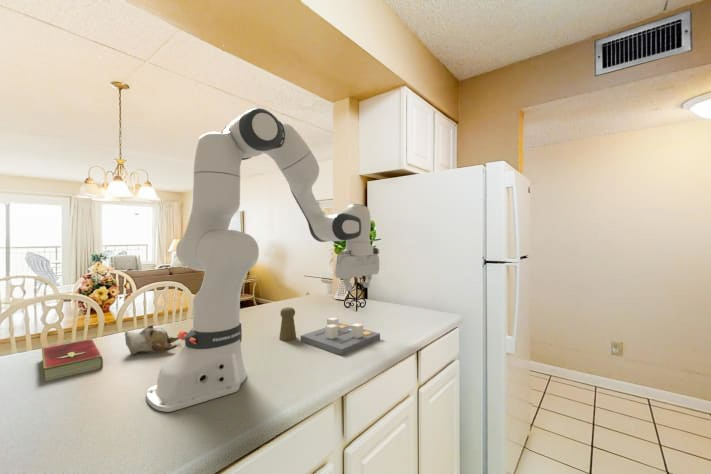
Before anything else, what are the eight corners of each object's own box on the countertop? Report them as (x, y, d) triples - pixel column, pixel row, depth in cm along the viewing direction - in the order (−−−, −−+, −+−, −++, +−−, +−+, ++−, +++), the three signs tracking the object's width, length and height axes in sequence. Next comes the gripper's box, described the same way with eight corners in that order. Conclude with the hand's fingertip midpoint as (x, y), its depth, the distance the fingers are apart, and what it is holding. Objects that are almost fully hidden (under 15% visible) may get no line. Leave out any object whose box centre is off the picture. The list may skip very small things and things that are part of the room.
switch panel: (341, 355, 98) (341, 348, 98) (300, 341, 111) (300, 334, 111) (380, 339, 113) (380, 333, 113) (339, 328, 126) (339, 322, 126)
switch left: (332, 331, 115) (332, 320, 115) (327, 329, 117) (327, 318, 117) (338, 329, 118) (338, 318, 118) (332, 327, 120) (332, 317, 120)
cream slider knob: (357, 338, 107) (357, 326, 107) (351, 336, 109) (351, 325, 109) (363, 336, 110) (363, 324, 110) (356, 334, 112) (356, 323, 112)
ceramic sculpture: (130, 322, 104) (181, 320, 110) (129, 348, 104) (180, 345, 110) (119, 331, 94) (176, 329, 100) (118, 360, 94) (175, 356, 100)
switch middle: (331, 339, 107) (331, 327, 106) (325, 337, 108) (325, 325, 108) (337, 337, 109) (337, 325, 109) (331, 335, 111) (331, 324, 111)
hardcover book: (93, 350, 104) (93, 337, 104) (103, 369, 90) (102, 354, 89) (42, 360, 96) (41, 347, 96) (43, 384, 81) (43, 367, 81)
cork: (298, 335, 117) (298, 306, 117) (293, 341, 111) (293, 310, 111) (282, 335, 118) (282, 305, 117) (276, 340, 112) (276, 309, 111)
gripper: (344, 251, 103) (344, 294, 103) (382, 249, 118) (382, 286, 118) (331, 250, 107) (330, 291, 107) (369, 249, 122) (369, 284, 122)
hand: (358, 288), depth 112 cm, fingers open, 8 cm apart
